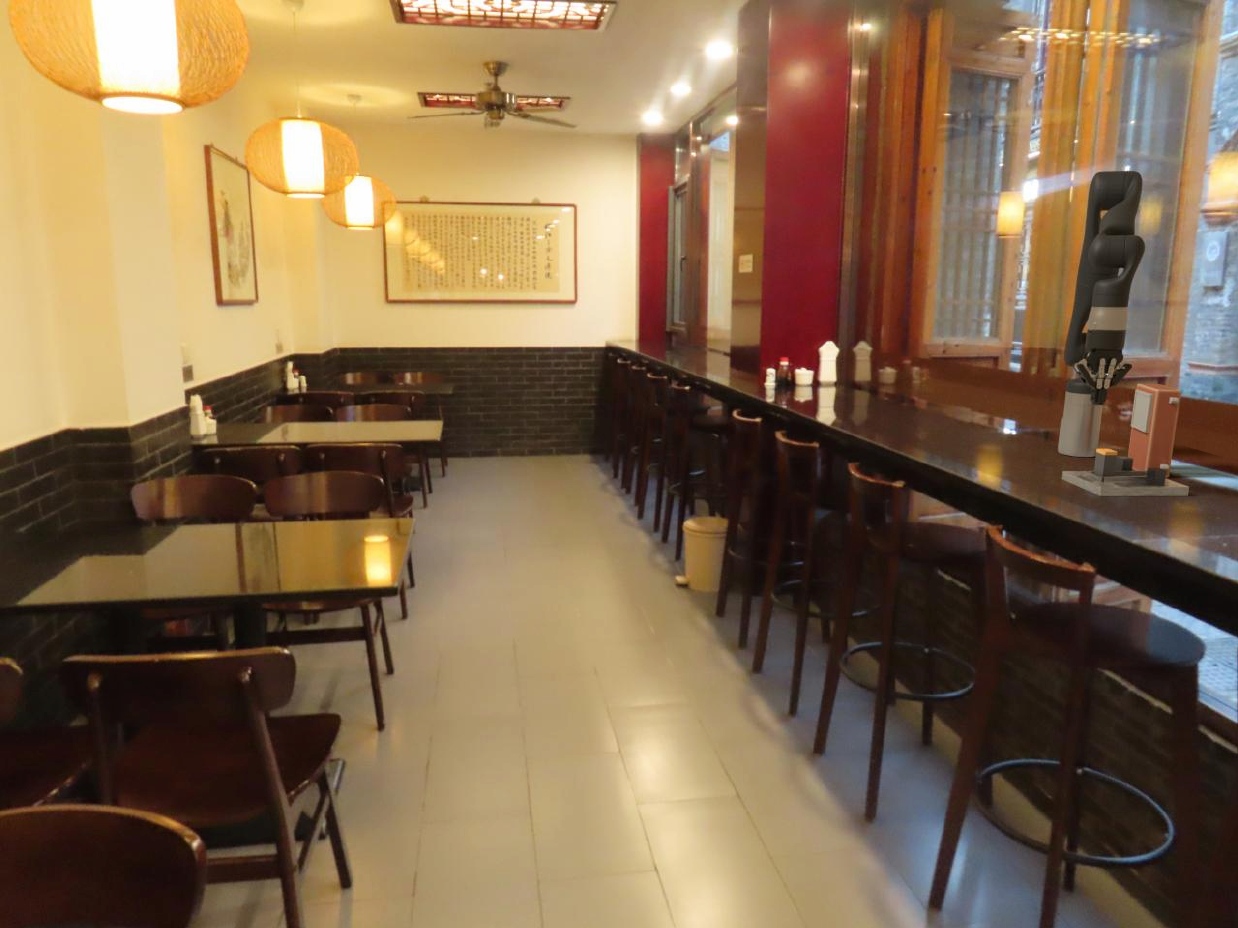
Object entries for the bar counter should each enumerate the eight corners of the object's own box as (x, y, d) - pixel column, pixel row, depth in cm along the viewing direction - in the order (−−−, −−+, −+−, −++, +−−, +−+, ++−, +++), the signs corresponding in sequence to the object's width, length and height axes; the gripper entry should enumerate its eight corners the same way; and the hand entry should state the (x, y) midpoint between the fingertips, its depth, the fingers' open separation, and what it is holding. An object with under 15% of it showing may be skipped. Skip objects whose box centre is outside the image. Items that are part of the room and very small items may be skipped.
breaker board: (1061, 479, 205) (1064, 456, 204) (1143, 478, 205) (1146, 455, 204) (1099, 495, 189) (1103, 471, 188) (1187, 495, 190) (1191, 470, 188)
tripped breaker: (1093, 474, 198) (1096, 448, 197) (1105, 474, 198) (1108, 448, 197) (1102, 478, 195) (1105, 451, 193) (1114, 478, 195) (1117, 451, 193)
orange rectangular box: (1150, 465, 220) (1174, 478, 205) (1120, 464, 221) (1143, 477, 207) (1161, 383, 215) (1187, 391, 201) (1131, 382, 216) (1155, 390, 202)
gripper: (1125, 327, 193) (1115, 402, 196) (1068, 326, 192) (1059, 402, 196) (1146, 328, 185) (1136, 407, 189) (1088, 328, 185) (1078, 407, 188)
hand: (1097, 404), depth 192 cm, fingers closed
